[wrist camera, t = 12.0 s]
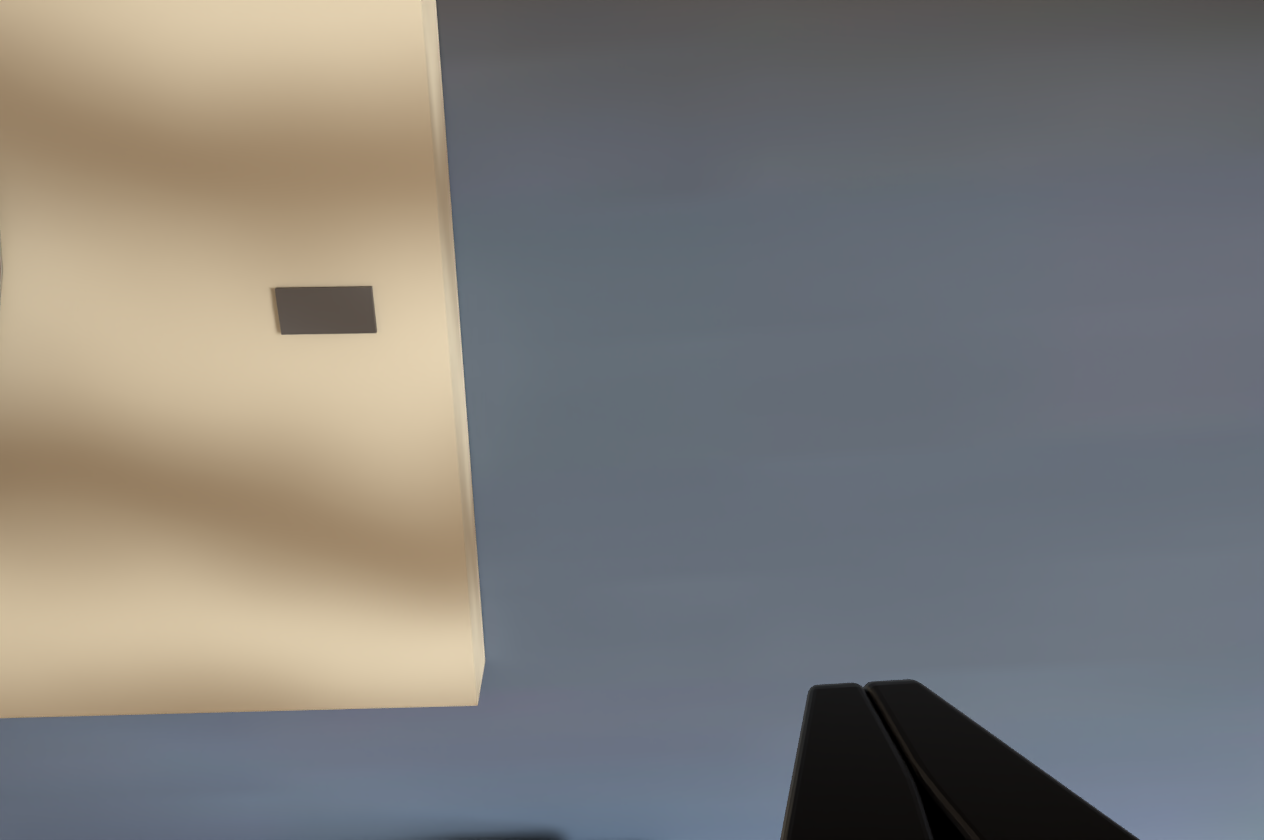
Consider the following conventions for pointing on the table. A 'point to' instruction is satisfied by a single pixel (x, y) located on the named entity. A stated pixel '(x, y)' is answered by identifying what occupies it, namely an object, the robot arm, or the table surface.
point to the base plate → (230, 362)
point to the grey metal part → (1, 269)
